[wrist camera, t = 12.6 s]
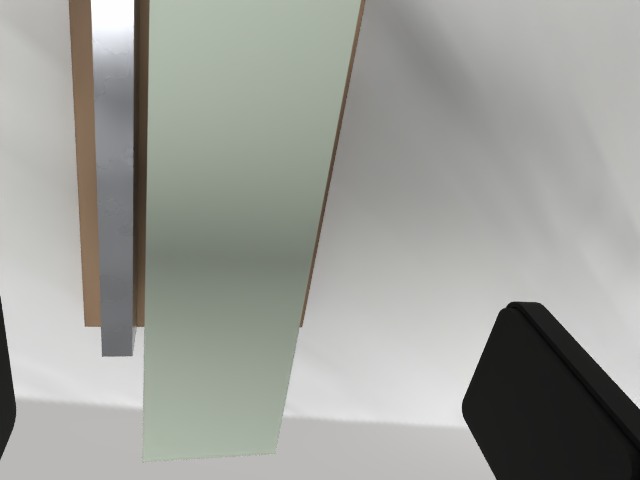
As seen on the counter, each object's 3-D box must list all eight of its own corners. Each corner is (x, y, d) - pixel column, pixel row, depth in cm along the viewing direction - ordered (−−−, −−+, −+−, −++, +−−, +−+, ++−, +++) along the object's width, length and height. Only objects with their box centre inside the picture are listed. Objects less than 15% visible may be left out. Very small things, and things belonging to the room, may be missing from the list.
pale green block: (292, -47, 18) (369, -43, 10) (249, 291, 24) (275, 454, 16) (170, -72, 16) (150, -88, 9) (159, 290, 23) (142, 462, 15)
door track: (375, -94, 18) (404, -100, 16) (298, 315, 26) (309, 354, 24) (67, -166, 16) (43, -189, 13) (88, 312, 24) (76, 356, 21)
